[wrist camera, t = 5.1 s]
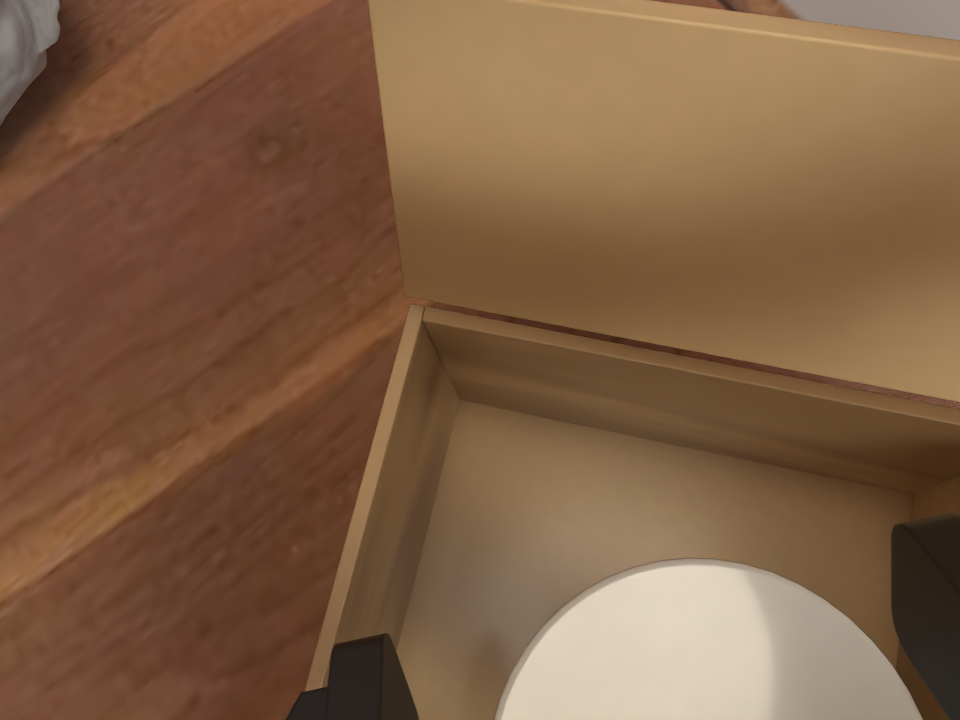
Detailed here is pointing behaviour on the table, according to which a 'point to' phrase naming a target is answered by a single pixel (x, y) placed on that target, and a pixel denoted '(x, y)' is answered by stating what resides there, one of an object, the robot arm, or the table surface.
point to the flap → (682, 179)
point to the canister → (702, 652)
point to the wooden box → (611, 494)
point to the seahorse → (24, 45)
